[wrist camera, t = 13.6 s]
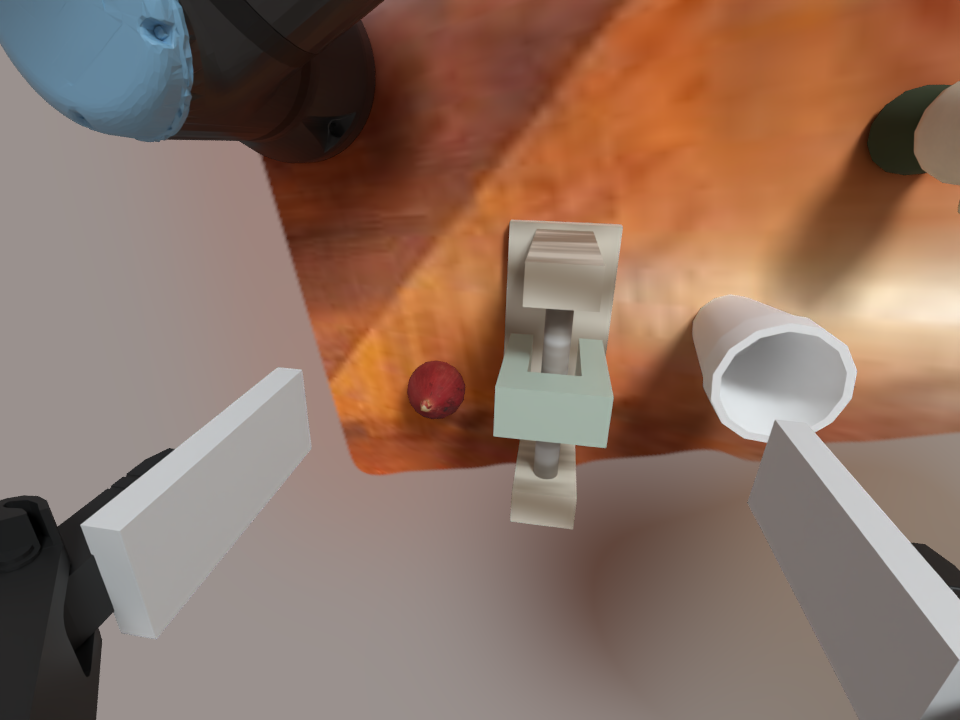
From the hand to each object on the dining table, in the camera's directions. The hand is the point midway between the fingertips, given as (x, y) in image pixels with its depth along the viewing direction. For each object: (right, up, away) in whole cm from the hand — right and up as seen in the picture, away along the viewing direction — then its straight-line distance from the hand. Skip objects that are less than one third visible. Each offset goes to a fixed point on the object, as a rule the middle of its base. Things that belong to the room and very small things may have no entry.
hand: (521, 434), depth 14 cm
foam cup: (+22, +5, +33) cm, 40 cm away
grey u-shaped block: (+6, +2, +30) cm, 31 cm away
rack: (+6, +5, +36) cm, 37 cm away
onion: (-5, +1, +40) cm, 40 cm away
